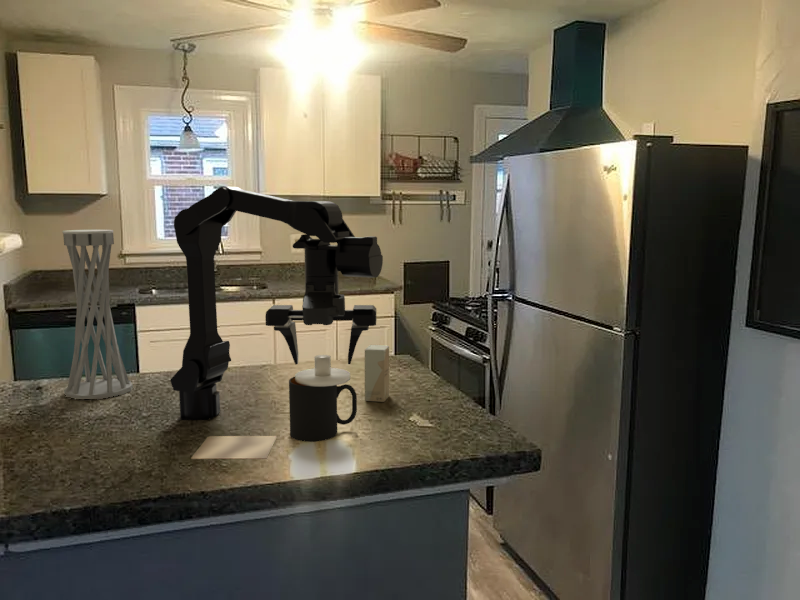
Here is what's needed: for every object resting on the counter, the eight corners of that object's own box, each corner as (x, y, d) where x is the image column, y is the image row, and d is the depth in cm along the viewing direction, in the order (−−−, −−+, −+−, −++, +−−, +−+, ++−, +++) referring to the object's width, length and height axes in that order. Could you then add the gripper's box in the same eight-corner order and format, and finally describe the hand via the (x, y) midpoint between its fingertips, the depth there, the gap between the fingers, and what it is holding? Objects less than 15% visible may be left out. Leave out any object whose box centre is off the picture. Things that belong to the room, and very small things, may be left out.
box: (384, 402, 135) (384, 350, 133) (364, 401, 135) (363, 349, 134) (389, 395, 140) (389, 344, 138) (370, 394, 140) (369, 344, 139)
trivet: (190, 462, 103) (190, 458, 103) (208, 439, 113) (208, 436, 113) (266, 461, 104) (266, 458, 103) (277, 439, 113) (277, 436, 113)
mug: (362, 439, 114) (362, 381, 112) (294, 447, 110) (292, 387, 108) (351, 424, 121) (350, 370, 120) (286, 431, 118) (285, 375, 116)
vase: (117, 379, 152) (108, 228, 147) (143, 390, 143) (133, 230, 137) (55, 391, 142) (42, 230, 137) (78, 404, 133) (65, 232, 128)
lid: (299, 371, 119) (299, 350, 118) (352, 371, 119) (351, 350, 118) (291, 386, 109) (290, 363, 109) (348, 386, 109) (348, 363, 109)
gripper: (257, 280, 103) (260, 376, 106) (375, 280, 104) (375, 375, 106) (270, 273, 114) (272, 359, 117) (376, 273, 115) (376, 359, 117)
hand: (323, 363), depth 114 cm, fingers open, 9 cm apart
